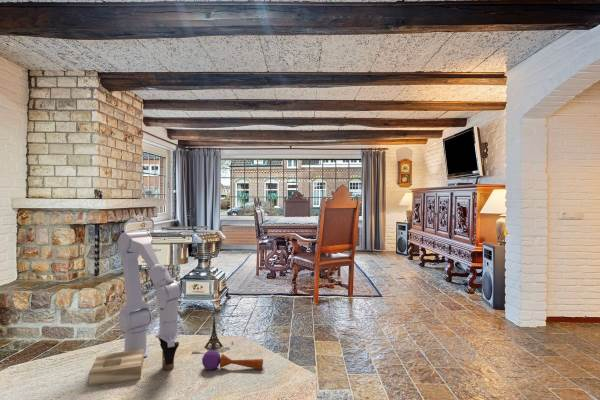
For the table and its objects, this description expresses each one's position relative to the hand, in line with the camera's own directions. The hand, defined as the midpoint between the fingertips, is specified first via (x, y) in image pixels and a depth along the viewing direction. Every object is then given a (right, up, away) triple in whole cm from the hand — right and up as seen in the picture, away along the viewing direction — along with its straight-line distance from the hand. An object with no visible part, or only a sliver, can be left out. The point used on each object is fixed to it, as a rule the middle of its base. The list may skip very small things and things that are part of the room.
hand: (168, 360), depth 116 cm
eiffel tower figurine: (+11, -3, +17) cm, 20 cm away
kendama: (+21, -3, 0) cm, 22 cm away
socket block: (-15, -2, -3) cm, 15 cm away
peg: (0, -2, 0) cm, 2 cm away
